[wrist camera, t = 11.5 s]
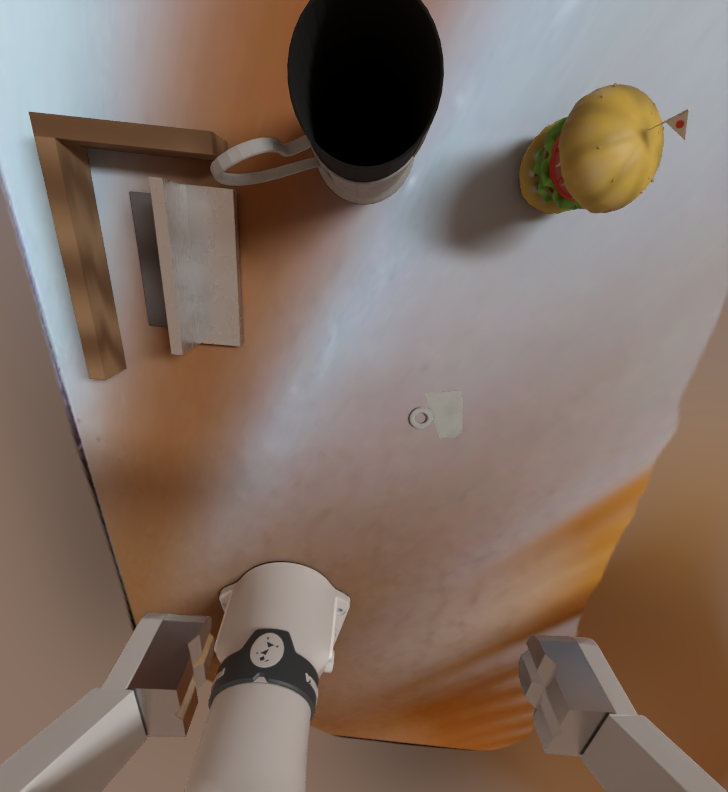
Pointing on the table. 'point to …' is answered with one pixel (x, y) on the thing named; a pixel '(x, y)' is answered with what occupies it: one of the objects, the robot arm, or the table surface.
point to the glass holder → (355, 97)
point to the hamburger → (597, 153)
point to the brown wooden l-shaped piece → (80, 223)
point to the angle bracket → (198, 263)
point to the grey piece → (441, 413)
